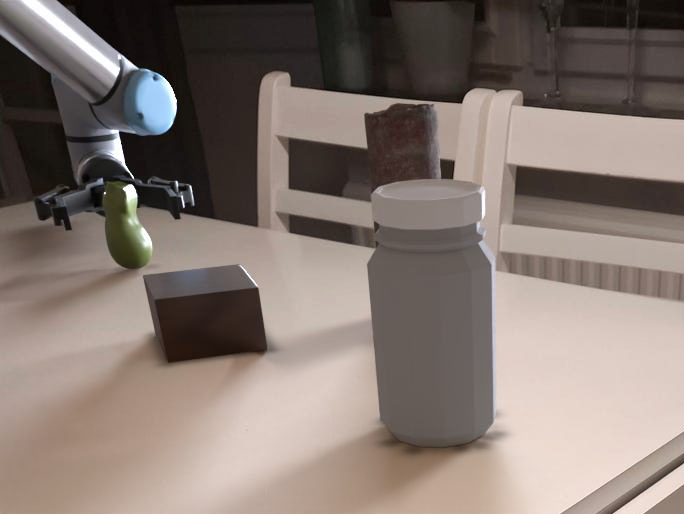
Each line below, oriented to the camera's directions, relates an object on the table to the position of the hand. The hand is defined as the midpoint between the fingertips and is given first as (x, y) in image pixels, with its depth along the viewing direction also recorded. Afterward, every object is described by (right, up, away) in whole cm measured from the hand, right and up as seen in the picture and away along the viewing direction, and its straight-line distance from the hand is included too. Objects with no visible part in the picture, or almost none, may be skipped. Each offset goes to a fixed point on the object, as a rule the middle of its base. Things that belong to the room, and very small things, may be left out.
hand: (121, 213), depth 128 cm
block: (+18, -26, -24) cm, 39 cm away
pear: (+1, -7, +1) cm, 7 cm away
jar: (+42, -41, -43) cm, 73 cm away
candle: (+39, -21, -18) cm, 48 cm away
